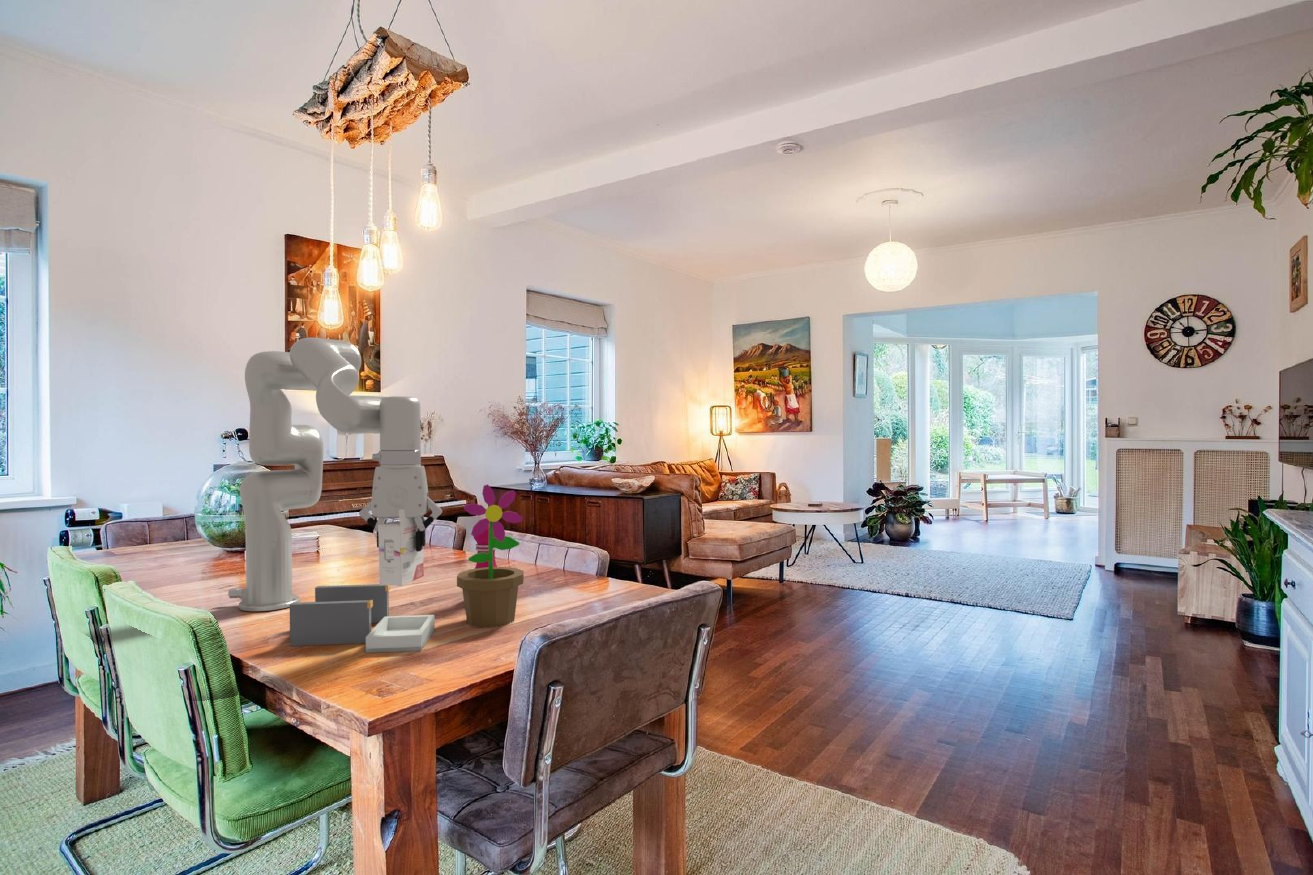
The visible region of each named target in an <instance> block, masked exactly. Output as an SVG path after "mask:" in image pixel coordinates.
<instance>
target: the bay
mask: <svg viewBox="0 0 1313 875" xmlns="http://www.w3.org/2000/svg"><path fill="white" fill-rule="evenodd" d="M390 590H391V585H380V583H378V584H377V583H375V584H373V583H372V584H347V585H346V584H345V585H339V584H338V585H317V586H316V587H314V601H303V602H299V603H292V604H290V607H289V646H290V647H300V646H302V647H304V646H329V645H349V644H351V645H352V644H353V645H354V644H366V636H367V635H368V634H369V633H370V632H371V631H372V624H378V623H379V622H380V621H381V620H382V619H383V618H384V617H386V616H390V606H389V605H390V599H389V598H390V595H389V593H390V592H389V591H390Z"/></svg>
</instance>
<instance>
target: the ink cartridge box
mask: <svg viewBox="0 0 1313 875" xmlns="http://www.w3.org/2000/svg"><path fill="white" fill-rule="evenodd" d="M417 528H418V527H417V524H416V522H415V520H414V518H406V517H405V509H400V510H399V518H398V519H396V520H394V521H393V520H392V521H389V522H386V523H385V524H381V525H378V535H379V547H378V565H379V566H378V567H379V568H378V569H379V573H378V574H379V584H380V585H390V586H396V587H397V586H398V587H399V586H401V587H402V586H404V585H407V584H409V583H411V582H414V581H416V580H418V579H421V578H423V577H424V576H425V575H424V574H425V573H424V548H423V549H422V550H421V551H416V531H418V530H417Z"/></svg>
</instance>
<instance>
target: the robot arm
mask: <svg viewBox="0 0 1313 875" xmlns="http://www.w3.org/2000/svg"><path fill="white" fill-rule="evenodd" d="M361 367H362V356H361V353H360V351H359V350H358V348H357V346H355V345H354V344H353V343H352V342H350V341H346V340H341V339H334V338H333V339H331V338H323V337H305V338H301V339H298V340H297V341H295V342H294V343H293V345H292V346H291V348H290V350H289V351H273V350H272V351H270V350H269V351H262V352H261V351H260V352H258V353H255V354H253V355H251V357H250V358H249V359H248V361H247V362H246V365H245V370H244V381H245V383H244V384H245V387H246V388H245V389H246V392H247V396H248V399H249V400H248V402H249V407H250V409H249V410H250V411H249V432H248V433H249V436H248V437H249V438H248V442H249V443H248V447H249V449H248V450H249V451H248V452H249V457H250V459H251V460H252V461H253V462H254V463H255V464H258V465H261V466H262V465H263V466H284V465H285V466H287V465H294V469H278V470H277V469H276V470H275V469H274V470H262V471H257V472H253V473H250V474H248V475H247V476H245V477H244V478H243V479H242V481H241V483H240V486H239V496H240V500H241V505H242V510H243V516H244V528H245V529H244V533H245V581H246V582H245V583H246V584H245V587H243V588H230V589H228V593H227V594H228V598H229V599H240V600H241V601H239V603H238V608H239V610H240V611H245V612H268V611H276V610H281V609H286V608H290V604H292V603H299V602H300V600H301V598H300V596H299V595H297V594H293V551H292V550H293V547H292V546H293V545H292V544H293V541H292V540H293V539H292V538H293V537H292V534H293V533H292V532H293V531H292V528H291V525H290V523H289V521H288V520H287V519H286V517H285V516H284V515H283V514H282V511H286V510H297V509H304V508H305V509H307V508H310V507H313V506H315V505H316V504H317V503H318V502H319V500H320V499H321V495H322V489H323V474H324V473H323V471H324V469H323V468H324V467H323V466H324V442H323V438H322V436H321V434H320V431H318V430H317V428H315V427H314V426H312V425H308V424H293V423H292V414H293V413H292V411H293V410H292V404H291V401H290V400H289V399H288V397H287V395H286V393H284V391H282V390H293V391H313V392H314V391H315V392H316V393H315V401H316V402H315V403H316V407H317V409H318V412H319V414H320V416H322V418H323V419H324V420H325V421H326V422H327V423H328V424H329V425H330V426H332V428H334V429H335V430H336V431H338V432H340V433H344V434H351V435H353V434H354V435H355V434H356V435H357V434H358V435H359V434H379V451H378V452H377V453H372V458H371V459H372V461H374V462H375V461H376V462H378V465H379V466H375V469H374V474H373V480H372V490H371V500H370V501H369V502H368V503H367V504H366V505H365V506H364V507H363V508H362V509H361V510H360V511H359V512H358V515H359V516H360V517H361V518H362V519H364V521H366V523H367V524H368V525H369V526H370V527H371V528H373V529H374V531H375V532H376V547H377V548H379V535H378V525H381V524H385V523H388V520H389V519H399V510H400V509H405V517H406V518H414V520H415V522H416V524H417V527H418V528H417V530H418V531H416V551H421V550H422V549H423V550H424V547H426V529H427V528H429V526H431V525H432V523H434V521H436V519H437V518H438V517H439V516H441V514H442V513H443V509H441V507H440V506H439V505H438V504H436V503H435V502H434V501H433V500H432V499H431V498H430V497H429V488H428V478H427V472H426V469H425V465H422V464H421V463H422V458H421V457H422V455H421V453H422V452H421V450H422V448H421V447H422V446H421V444H422V443H421V442H422V440H421V439H422V437H421V429H422V428H421V403H420V400H419V399H418V398H417V397H413V396H397V395H396V396H394V395H393V396H377V395H353V394H352V393H353V392H354V391H355V390H356V388H357V387H358V384H359V381H360V376H359V372H360V369H361ZM429 510H431V511H432V513H430V515H429V516H428V517H427V518H425V517H424V515H426V514H427V513H429V512H428V511H429Z"/></svg>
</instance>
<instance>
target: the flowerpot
mask: <svg viewBox="0 0 1313 875" xmlns="http://www.w3.org/2000/svg"><path fill="white" fill-rule="evenodd" d="M481 494H482V498H483V501H484V503H485V504H487V508H485V507H484V506H483V505H482V504H478V503H473V502H472V503H468V504H465V505H464V507H463V510H464V511H466V512H467V513H468V514H469V515H473V516H482V515H483V516H484V517H483V518H484V519H483V518H482V519H480V520H478V521H477V522H476V523H475V524H474V525H473V527H472V531H471V532H470V535H471V536H472V537H473V538H474V537H476V536H478V535H481V534H482V533H483V532H484V531H485V530H486V529H487V528H488V525H489V553H483V552H482V553H477V552H476V553H475V554H473V555H471V556H469V557H468V561H469V562H473V563H476V564H477V563H483V562H486V561H488V560H489V567H484V568H477V569H475V568H471V569H467V570H464V571H461V572H459V573H458V574H457V575H456V587H458V588H460V589H461V590H462V596H463V604H464V605H463V606H464V611H465V617H466V618H465V619H466V624H468V625H470V626H471V625H472V626H471V627H475V626H477V627H478V628H497V627H502V626H507V625H509V624H511V623H513V622H512V621H514V622H515V619H516V618H515V617H516V612H517V610H516V609H517V600H518V592H519V586H520V585H521V586H522V585H523V584H524V578H525V577H524V576H525V574H524V573H525V572H524V571H525V570H523V569H519V568H516V567H509V566H507V567H506V566H497V567H493V547H494V548H497V549H496V550H501V551H506V550H512V549H514V548H515V547H517V546H519V545H520V542H519V541H518V540H516V539H515V538H513V537H512V536H508V535H506V530H505V527H504V525H503V523H501V522H500V521H499V520H500V519H503V520H504V521H505V522H508V523H511V524H517V523H520V522H523V518H524V517H523V516H522V515H520V514H519V513H518V512H515V511H510V510H507V511H504V512H503V510H502V509H505V508H508V507H509V506H510V505H511V504H512V503H513V502H514V501H515V498H516V494H517V492H516V491H515V490H510V491H507V492H505V493H504V494H503V495H502V496H501V497H500V498H499V499H498V504H495V502H496V496H495V493H494V489H493V488H492V487H491V486H490V485H489V484H484V485H483V488H482V492H481ZM485 517H486V518H485ZM489 521H490V522H489ZM493 533H494V536H495V538H493ZM510 622H511V623H510ZM501 625H502V626H501ZM496 626H497V627H496Z"/></svg>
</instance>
